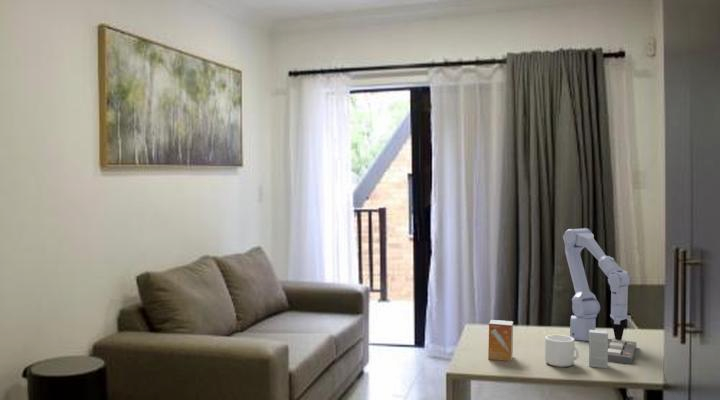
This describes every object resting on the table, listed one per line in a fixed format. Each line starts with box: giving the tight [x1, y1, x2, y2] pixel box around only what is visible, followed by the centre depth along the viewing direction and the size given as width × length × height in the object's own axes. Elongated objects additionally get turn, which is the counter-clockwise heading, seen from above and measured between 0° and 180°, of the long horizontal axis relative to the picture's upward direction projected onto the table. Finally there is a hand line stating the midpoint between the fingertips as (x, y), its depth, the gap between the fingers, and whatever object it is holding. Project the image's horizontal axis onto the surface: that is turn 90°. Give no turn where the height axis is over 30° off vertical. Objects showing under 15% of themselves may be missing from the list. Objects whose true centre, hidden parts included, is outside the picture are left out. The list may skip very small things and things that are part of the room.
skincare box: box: [588, 329, 609, 369], centre depth 219 cm, size 6×4×12 cm
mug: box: [544, 334, 579, 368], centre depth 221 cm, size 12×10×9 cm
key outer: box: [608, 348, 621, 355], centre depth 228 cm, size 4×4×2 cm
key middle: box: [609, 342, 623, 350], centre depth 234 cm, size 4×4×2 cm
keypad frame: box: [608, 338, 637, 365], centre depth 234 cm, size 12×23×2 cm, turn 153°
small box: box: [487, 319, 514, 362], centre depth 228 cm, size 8×6×13 cm
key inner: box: [611, 337, 626, 345], centre depth 241 cm, size 4×4×2 cm
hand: (618, 339), depth 240 cm, fingers closed
